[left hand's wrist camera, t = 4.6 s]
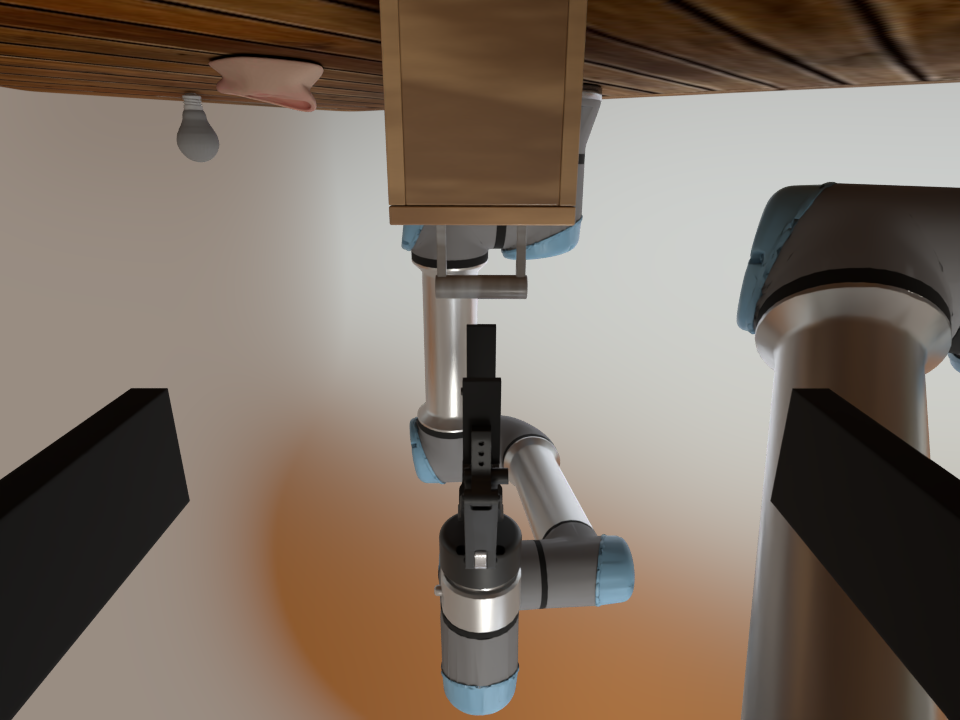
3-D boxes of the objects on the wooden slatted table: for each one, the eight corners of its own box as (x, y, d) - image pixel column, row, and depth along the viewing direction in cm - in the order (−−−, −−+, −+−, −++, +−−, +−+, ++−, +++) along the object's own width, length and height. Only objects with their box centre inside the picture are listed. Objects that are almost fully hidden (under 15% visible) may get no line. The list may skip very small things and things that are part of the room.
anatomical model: (214, 101, 54) (340, 105, 59) (208, 53, 53) (337, 61, 57) (213, 110, 66) (319, 112, 70) (208, 70, 64) (316, 75, 69)
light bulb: (205, 91, 88) (215, 162, 91) (217, 94, 93) (226, 161, 97) (162, 90, 87) (174, 162, 90) (177, 94, 93) (187, 161, 96)
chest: (550, 25, 42) (544, 187, 45) (414, 25, 42) (419, 186, 45) (590, -44, 27) (575, 206, 30) (376, -45, 27) (388, 205, 30)
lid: (543, 187, 46) (539, 292, 49) (419, 187, 46) (422, 291, 49) (575, 206, 30) (567, 358, 33) (388, 206, 30) (395, 358, 33)
